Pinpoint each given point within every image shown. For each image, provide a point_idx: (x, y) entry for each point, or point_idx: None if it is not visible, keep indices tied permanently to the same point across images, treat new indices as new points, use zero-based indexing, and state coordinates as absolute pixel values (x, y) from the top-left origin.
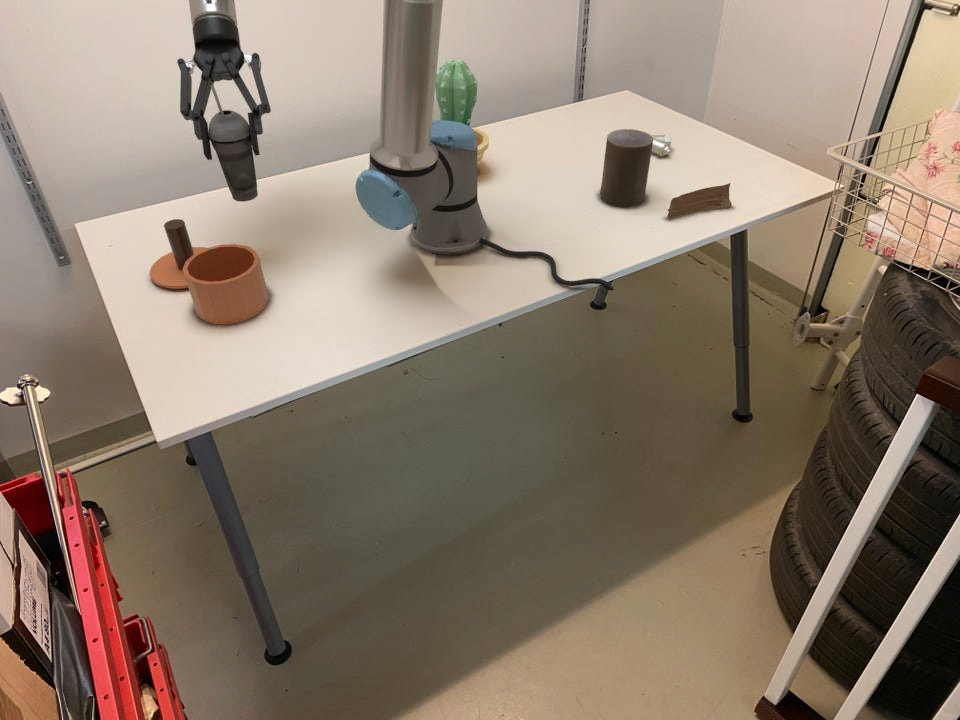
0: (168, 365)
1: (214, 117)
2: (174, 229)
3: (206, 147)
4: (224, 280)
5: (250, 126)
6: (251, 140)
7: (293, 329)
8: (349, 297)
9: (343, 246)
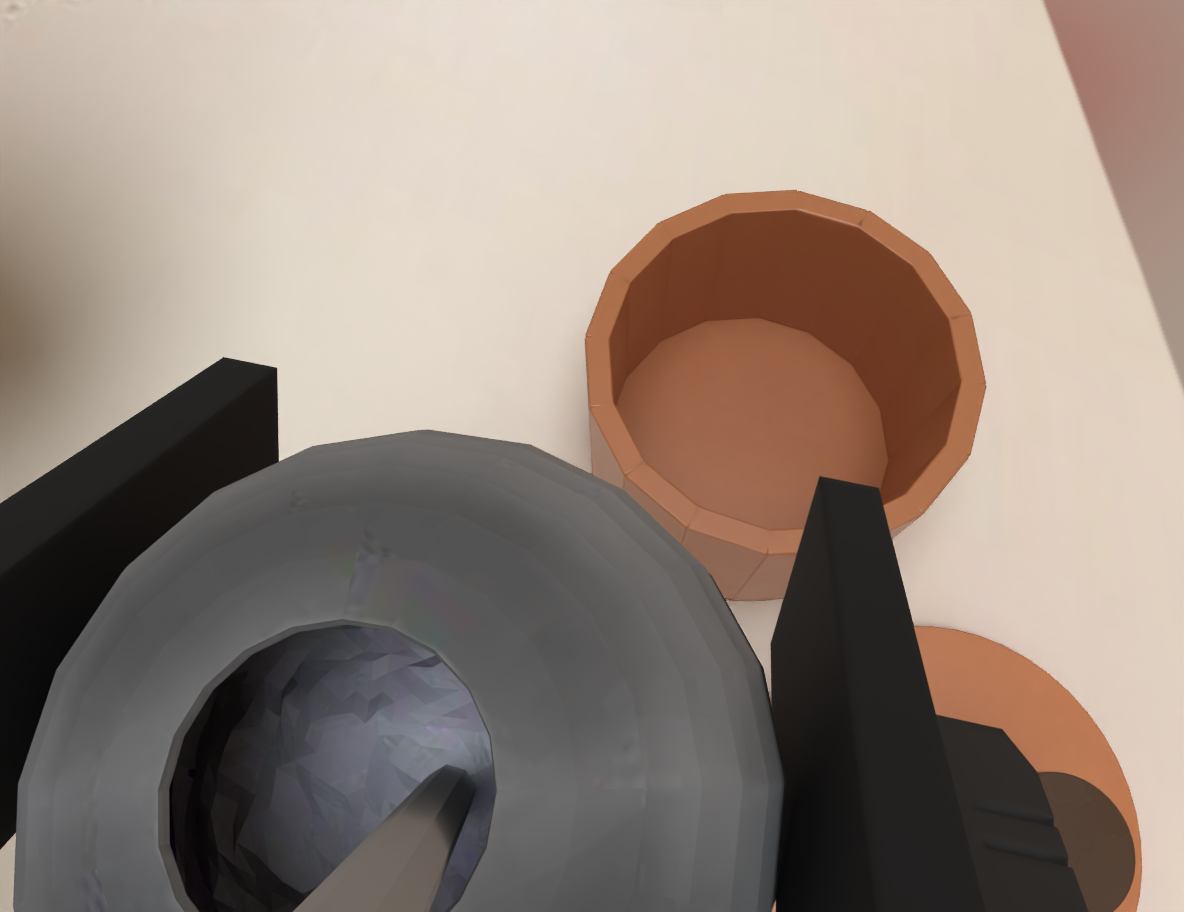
0: (1005, 170)
1: (624, 768)
2: (1056, 773)
3: (842, 526)
4: (782, 208)
5: (59, 512)
6: (212, 412)
7: (547, 192)
8: (283, 296)
9: None
